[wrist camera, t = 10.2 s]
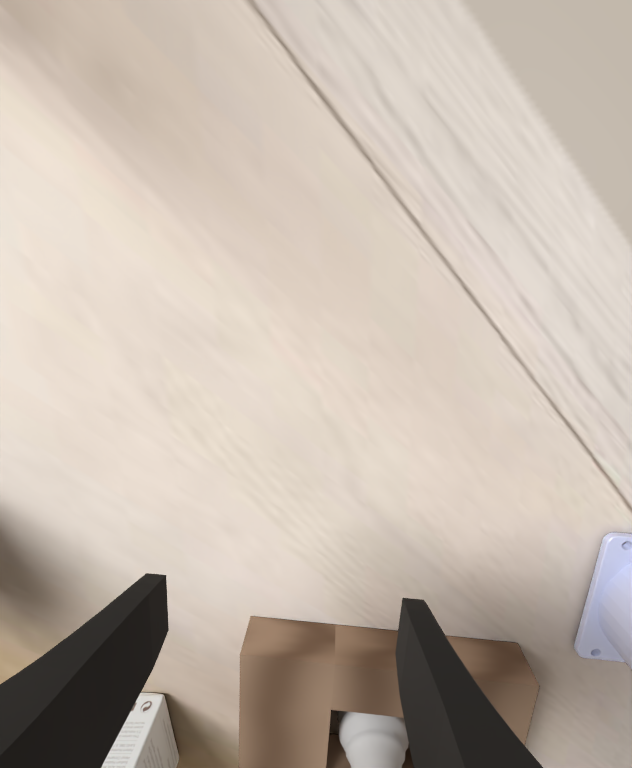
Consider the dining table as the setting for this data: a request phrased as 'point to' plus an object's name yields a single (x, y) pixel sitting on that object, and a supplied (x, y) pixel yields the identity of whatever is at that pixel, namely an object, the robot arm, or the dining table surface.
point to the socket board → (348, 687)
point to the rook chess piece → (373, 740)
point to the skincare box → (145, 737)
